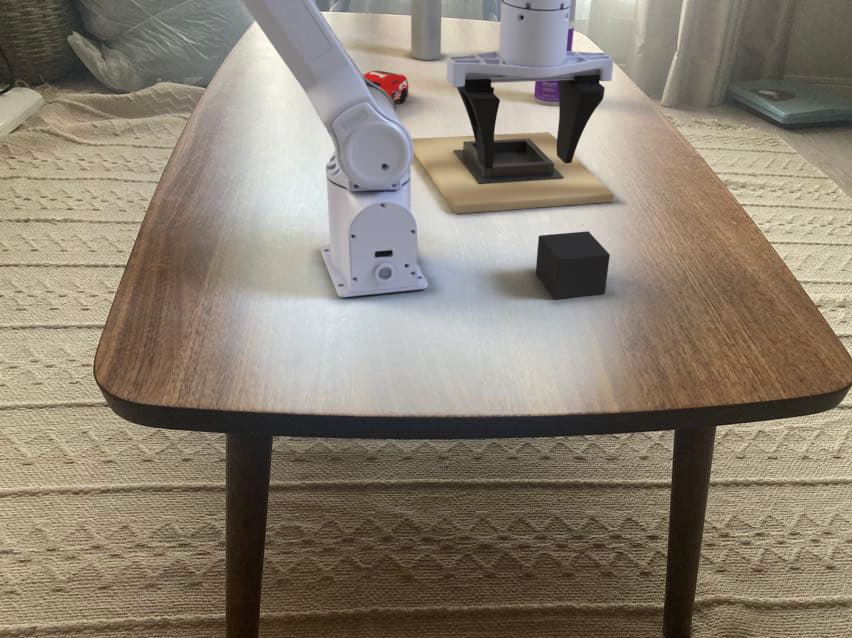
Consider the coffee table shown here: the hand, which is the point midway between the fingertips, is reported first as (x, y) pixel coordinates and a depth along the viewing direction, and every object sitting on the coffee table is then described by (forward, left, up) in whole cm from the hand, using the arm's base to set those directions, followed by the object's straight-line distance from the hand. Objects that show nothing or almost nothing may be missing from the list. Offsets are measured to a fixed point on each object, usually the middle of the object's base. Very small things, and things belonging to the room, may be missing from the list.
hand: (525, 162), depth 84 cm
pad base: (+21, -6, -10) cm, 24 cm away
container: (+46, -21, -10) cm, 51 cm away
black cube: (-6, -3, -10) cm, 12 cm away
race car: (+46, +4, -10) cm, 47 cm away
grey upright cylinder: (+69, -9, -10) cm, 70 cm away
